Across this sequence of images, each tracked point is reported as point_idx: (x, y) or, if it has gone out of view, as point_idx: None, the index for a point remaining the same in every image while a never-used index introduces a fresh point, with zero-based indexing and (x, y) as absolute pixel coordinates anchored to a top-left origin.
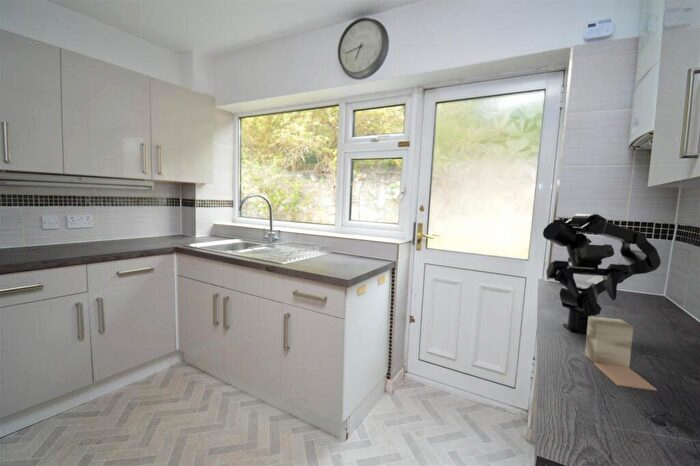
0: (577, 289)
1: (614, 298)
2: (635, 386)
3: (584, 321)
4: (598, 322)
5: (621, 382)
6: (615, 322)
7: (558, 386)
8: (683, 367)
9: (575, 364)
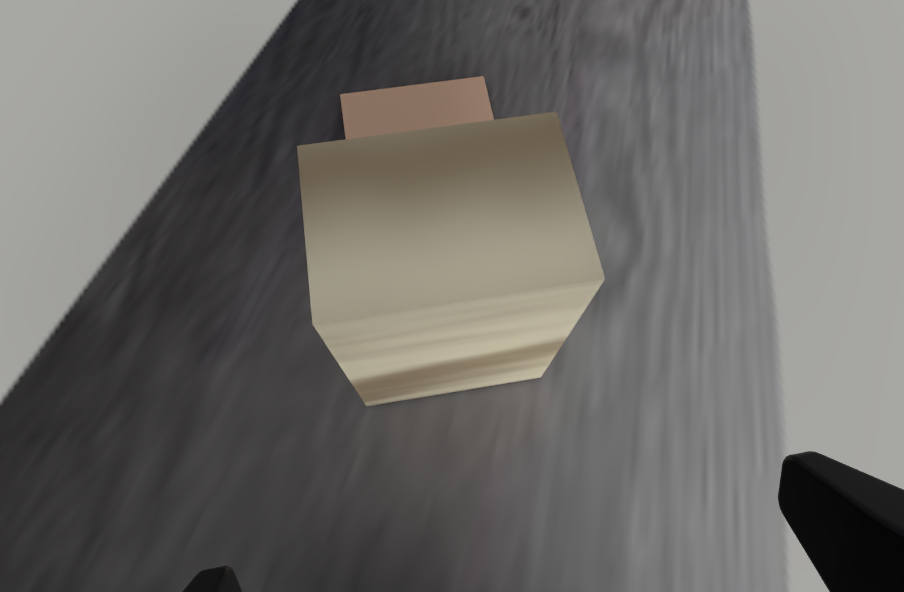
0: (889, 513)
1: (225, 566)
2: (416, 85)
3: None
4: (554, 127)
5: (460, 95)
6: (408, 188)
7: (694, 4)
8: (13, 454)
9: (610, 224)
